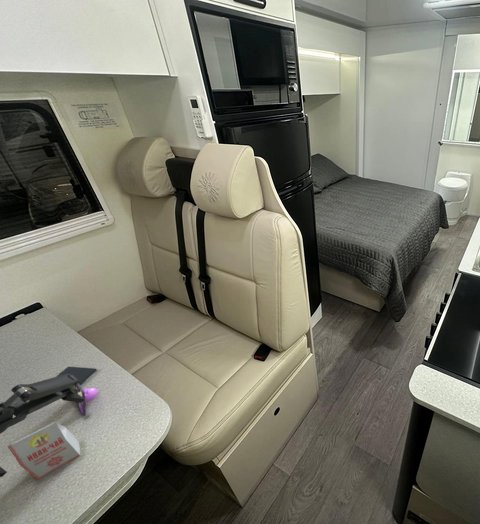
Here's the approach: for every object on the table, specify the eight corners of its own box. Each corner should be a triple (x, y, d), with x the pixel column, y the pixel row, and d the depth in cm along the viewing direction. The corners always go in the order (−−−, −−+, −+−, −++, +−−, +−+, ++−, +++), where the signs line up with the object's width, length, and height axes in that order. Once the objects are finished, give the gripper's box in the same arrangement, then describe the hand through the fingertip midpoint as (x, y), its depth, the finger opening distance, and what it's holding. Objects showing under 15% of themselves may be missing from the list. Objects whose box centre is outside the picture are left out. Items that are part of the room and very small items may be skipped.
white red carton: (37, 465, 60) (8, 438, 55) (79, 442, 64) (55, 415, 59) (37, 480, 57) (6, 453, 52) (80, 455, 61) (55, 428, 56)
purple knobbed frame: (67, 376, 71) (78, 394, 67) (94, 368, 76) (106, 384, 71) (68, 398, 73) (79, 418, 68) (95, 389, 77) (106, 407, 73)
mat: (46, 386, 77) (45, 385, 77) (69, 367, 82) (68, 366, 82) (75, 389, 76) (74, 387, 76) (96, 369, 81) (96, 368, 81)
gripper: (-193, 578, 29) (-25, 520, 46) (64, 364, 43) (119, 382, 60) (-248, 534, 29) (-60, 493, 47) (25, 336, 43) (91, 362, 61)
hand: (41, 430), depth 53 cm, fingers open, 13 cm apart
